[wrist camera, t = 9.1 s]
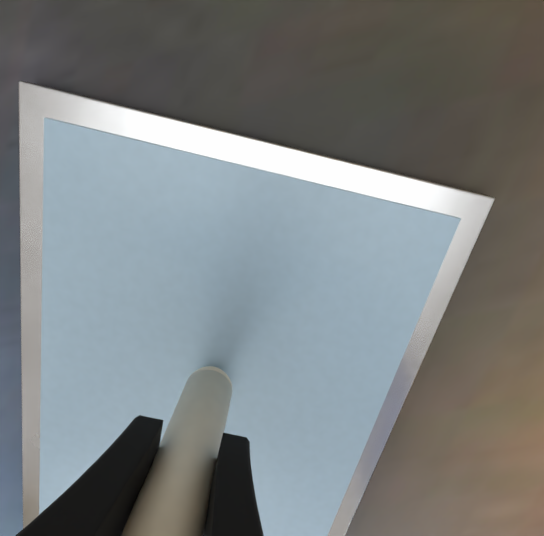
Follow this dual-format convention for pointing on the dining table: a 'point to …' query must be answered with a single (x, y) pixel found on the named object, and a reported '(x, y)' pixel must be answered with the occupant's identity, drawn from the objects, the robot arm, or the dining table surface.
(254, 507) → the robot arm
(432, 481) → the dining table surface
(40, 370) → the tablet
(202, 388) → the stylus
